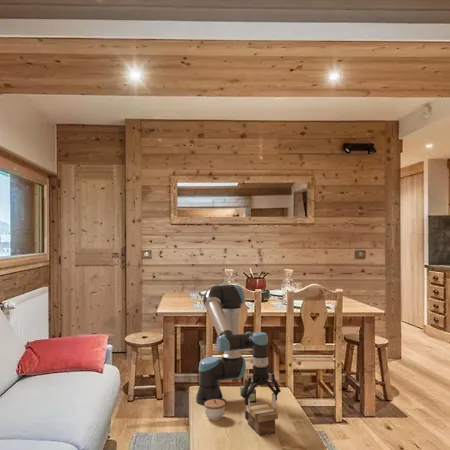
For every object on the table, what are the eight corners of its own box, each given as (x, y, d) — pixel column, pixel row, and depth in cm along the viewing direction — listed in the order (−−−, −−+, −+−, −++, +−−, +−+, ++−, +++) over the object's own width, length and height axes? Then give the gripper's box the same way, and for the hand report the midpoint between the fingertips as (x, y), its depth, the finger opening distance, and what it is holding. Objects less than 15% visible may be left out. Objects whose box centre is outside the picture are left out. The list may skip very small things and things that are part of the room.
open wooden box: (247, 424, 217) (247, 409, 217) (262, 421, 219) (262, 407, 220) (259, 436, 203) (259, 420, 204) (275, 433, 206) (274, 418, 206)
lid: (245, 411, 217) (245, 404, 217) (263, 408, 221) (263, 401, 221) (258, 424, 202) (258, 416, 202) (277, 421, 206) (277, 413, 206)
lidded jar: (222, 423, 217) (222, 404, 218) (202, 421, 220) (202, 403, 220) (227, 414, 228) (227, 396, 228) (207, 413, 230) (207, 395, 230)
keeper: (245, 418, 223) (245, 390, 224) (254, 416, 225) (254, 388, 225) (246, 420, 221) (246, 391, 222) (256, 418, 223) (255, 390, 223)
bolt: (240, 394, 231) (239, 386, 232) (246, 393, 233) (246, 385, 233) (249, 402, 220) (249, 394, 220) (256, 401, 221) (256, 393, 222)
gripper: (239, 370, 204) (240, 416, 204) (287, 364, 213) (287, 408, 212) (233, 366, 211) (234, 410, 211) (279, 360, 220) (280, 403, 219)
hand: (261, 409), depth 211 cm, fingers open, 13 cm apart
